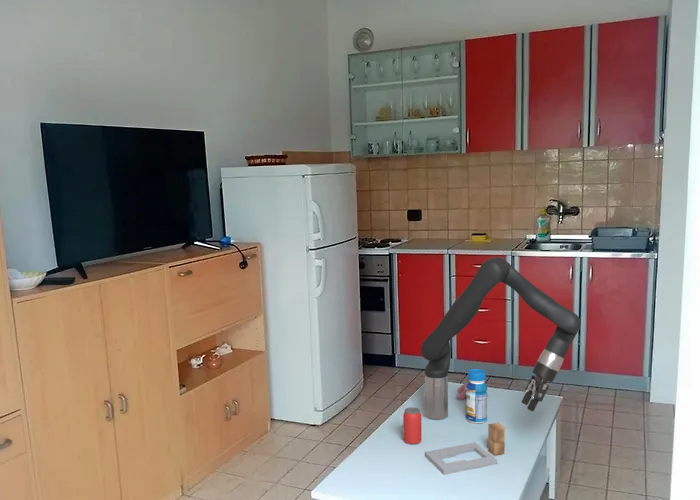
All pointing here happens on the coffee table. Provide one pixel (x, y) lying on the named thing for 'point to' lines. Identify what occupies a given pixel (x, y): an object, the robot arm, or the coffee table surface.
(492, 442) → the tan peg
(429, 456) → the keyhole plate
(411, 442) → the beer can
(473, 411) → the beverage bottle
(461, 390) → the video game controller
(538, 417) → the coffee table surface
